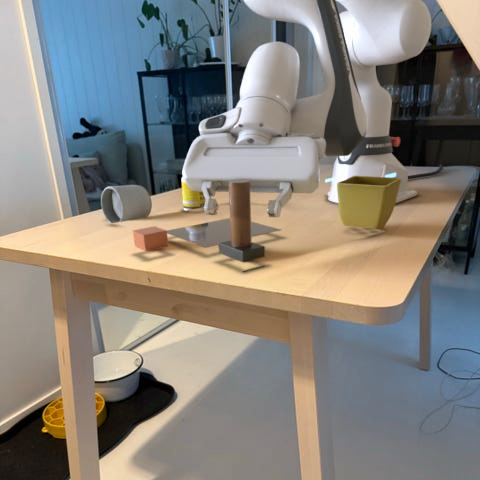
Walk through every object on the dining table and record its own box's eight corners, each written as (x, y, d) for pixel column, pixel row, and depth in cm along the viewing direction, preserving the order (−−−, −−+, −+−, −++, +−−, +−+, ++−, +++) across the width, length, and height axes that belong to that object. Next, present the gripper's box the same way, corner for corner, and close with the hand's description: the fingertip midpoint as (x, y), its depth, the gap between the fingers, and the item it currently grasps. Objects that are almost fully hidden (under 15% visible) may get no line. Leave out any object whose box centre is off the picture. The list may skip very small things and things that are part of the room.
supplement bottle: (203, 212, 103) (200, 166, 99) (180, 212, 104) (176, 167, 100) (209, 207, 107) (207, 163, 103) (187, 207, 109) (184, 164, 104)
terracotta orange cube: (155, 226, 75) (132, 230, 73) (166, 230, 72) (143, 235, 70) (157, 249, 77) (135, 254, 75) (169, 255, 74) (146, 260, 72)
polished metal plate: (234, 224, 91) (234, 217, 91) (281, 238, 81) (281, 229, 80) (163, 239, 83) (162, 231, 82) (205, 256, 73) (204, 247, 72)
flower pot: (382, 239, 78) (387, 185, 74) (333, 234, 82) (336, 182, 78) (396, 228, 85) (401, 177, 81) (350, 223, 89) (353, 175, 85)
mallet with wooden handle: (240, 257, 72) (238, 177, 67) (265, 266, 67) (264, 181, 62) (219, 262, 70) (215, 180, 65) (243, 272, 65) (240, 185, 60)
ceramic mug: (156, 219, 97) (152, 182, 94) (125, 227, 92) (119, 188, 88) (125, 215, 104) (120, 179, 100) (94, 222, 98) (88, 185, 95)
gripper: (329, 148, 69) (316, 228, 65) (203, 149, 75) (184, 223, 71) (326, 117, 63) (311, 203, 59) (190, 121, 69) (168, 199, 65)
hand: (240, 213), depth 65 cm, fingers open, 8 cm apart
